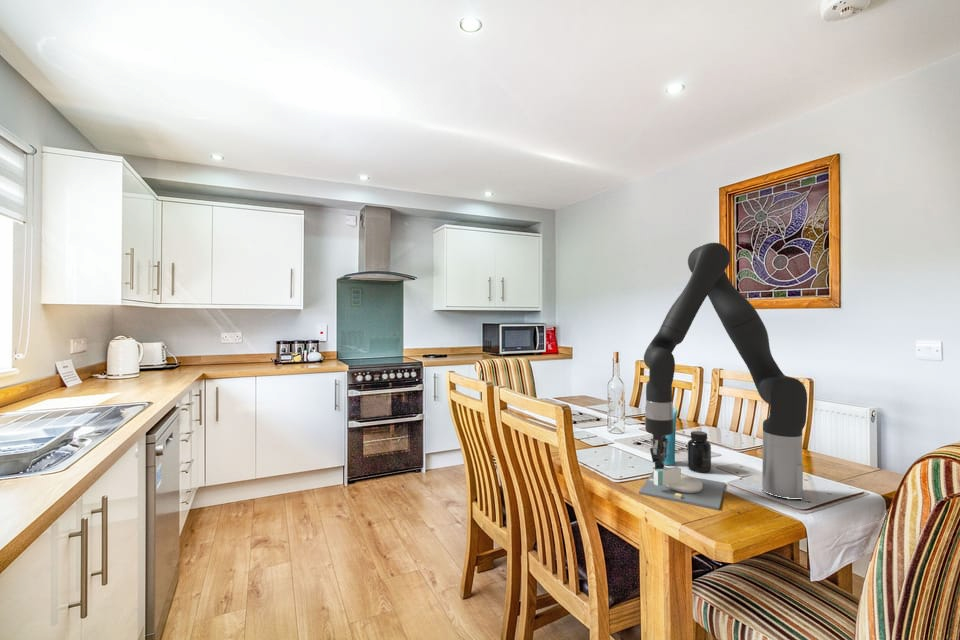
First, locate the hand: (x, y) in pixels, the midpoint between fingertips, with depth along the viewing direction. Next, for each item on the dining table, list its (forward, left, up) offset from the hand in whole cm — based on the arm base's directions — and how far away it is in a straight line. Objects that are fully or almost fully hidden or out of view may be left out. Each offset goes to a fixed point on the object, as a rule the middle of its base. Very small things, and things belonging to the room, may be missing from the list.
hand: (659, 475), depth 131 cm
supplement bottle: (-8, -23, -4) cm, 24 cm away
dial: (-4, -1, -3) cm, 5 cm away
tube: (+2, -24, -4) cm, 24 cm away
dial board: (-6, -3, -4) cm, 8 cm away
